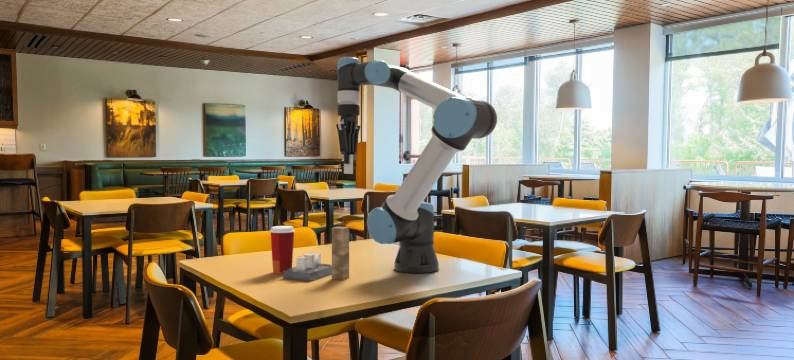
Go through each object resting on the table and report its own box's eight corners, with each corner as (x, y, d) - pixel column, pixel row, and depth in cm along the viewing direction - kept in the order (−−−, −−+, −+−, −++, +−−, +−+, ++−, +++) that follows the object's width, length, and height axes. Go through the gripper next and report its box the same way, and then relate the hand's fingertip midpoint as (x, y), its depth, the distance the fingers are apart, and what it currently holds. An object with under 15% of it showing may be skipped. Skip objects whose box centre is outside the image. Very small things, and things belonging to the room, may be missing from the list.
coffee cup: (297, 270, 197) (297, 225, 196) (291, 275, 189) (291, 228, 188) (273, 269, 198) (273, 225, 197) (265, 274, 189) (265, 228, 189)
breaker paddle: (314, 267, 188) (314, 254, 188) (311, 267, 186) (311, 255, 186) (306, 266, 189) (306, 253, 189) (303, 267, 188) (303, 254, 187)
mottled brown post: (349, 277, 185) (349, 227, 185) (342, 280, 182) (342, 228, 181) (338, 276, 187) (338, 226, 186) (331, 278, 183) (331, 227, 183)
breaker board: (333, 273, 192) (333, 253, 192) (310, 281, 179) (310, 260, 179) (307, 270, 196) (307, 251, 196) (283, 278, 183) (283, 257, 183)
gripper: (348, 106, 206) (348, 173, 207) (329, 103, 195) (329, 174, 196) (367, 105, 203) (366, 173, 204) (349, 102, 192) (348, 174, 192)
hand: (348, 173), depth 200 cm, fingers closed
